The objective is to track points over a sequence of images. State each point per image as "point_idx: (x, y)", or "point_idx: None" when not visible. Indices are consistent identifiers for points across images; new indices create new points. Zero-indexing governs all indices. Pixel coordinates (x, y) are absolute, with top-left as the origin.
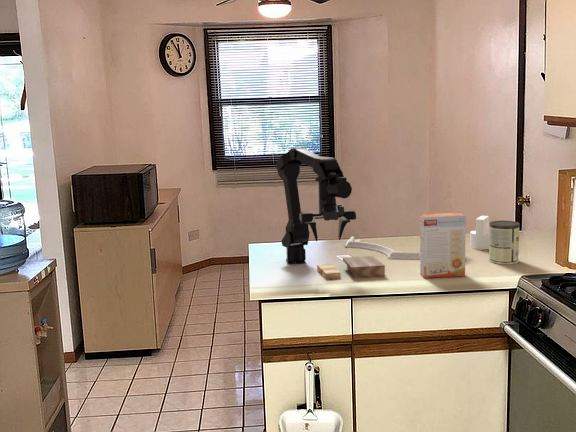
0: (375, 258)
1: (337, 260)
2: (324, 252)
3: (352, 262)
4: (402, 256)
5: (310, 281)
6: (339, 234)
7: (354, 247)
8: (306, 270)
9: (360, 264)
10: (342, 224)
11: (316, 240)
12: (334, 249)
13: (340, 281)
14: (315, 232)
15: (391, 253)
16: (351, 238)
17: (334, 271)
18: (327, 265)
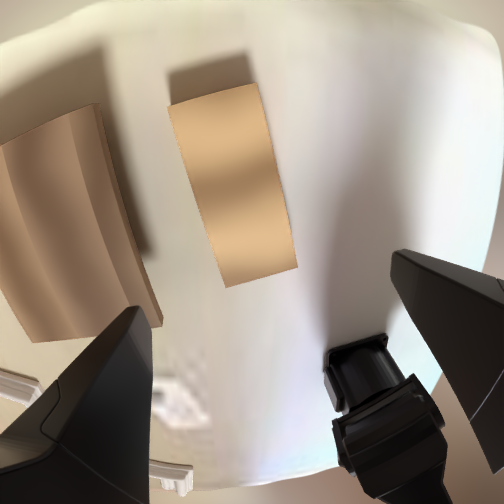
0: (11, 300)
1: (201, 384)
2: (249, 440)
3: (93, 225)
4: (5, 381)
5: (333, 59)
6: (119, 342)
7: (166, 464)
8: (338, 254)
9: (46, 179)
10: (13, 455)
11: (406, 250)
12: (220, 456)
13: (174, 44)
14: (481, 282)
15: (30, 398)
16: (181, 490)
17: (203, 127)
18: (244, 259)
